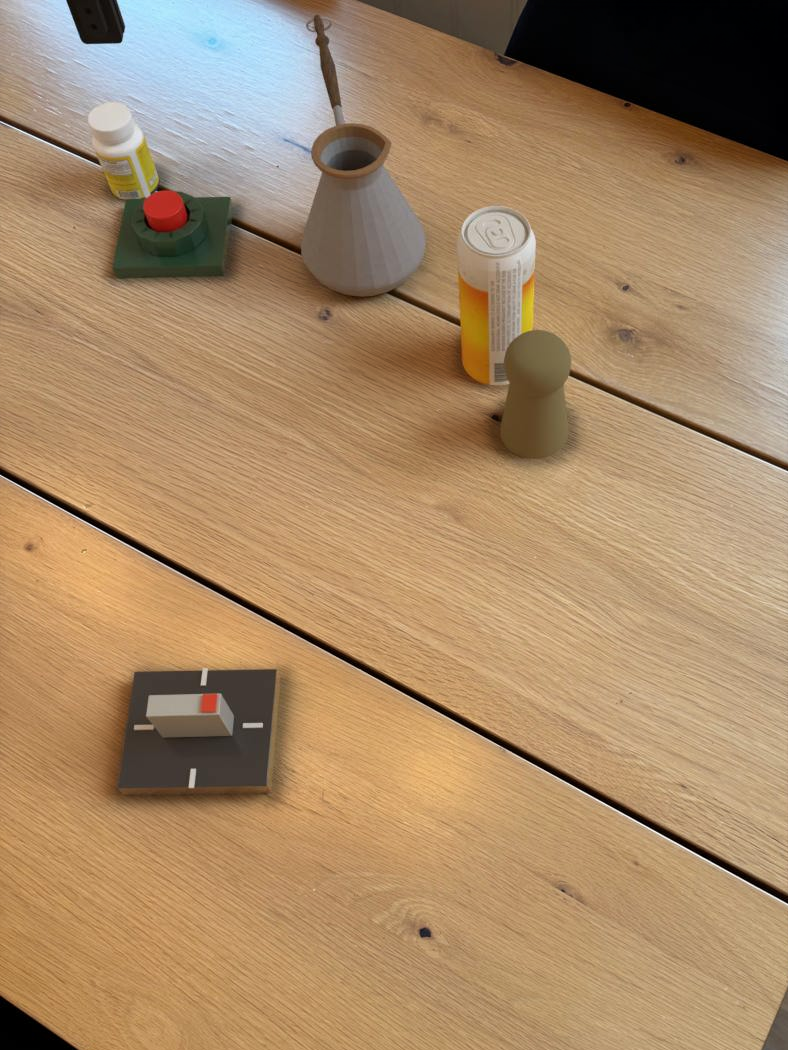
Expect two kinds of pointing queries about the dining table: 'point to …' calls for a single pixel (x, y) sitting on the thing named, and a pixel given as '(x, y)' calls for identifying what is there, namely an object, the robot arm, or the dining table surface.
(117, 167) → the supplement bottle
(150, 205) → the power button
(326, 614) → the dining table surface
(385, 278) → the coffee pot
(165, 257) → the control block
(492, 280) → the beer can
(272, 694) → the rotary switch
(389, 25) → the dining table surface
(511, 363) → the olive pawn
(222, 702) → the hob knob
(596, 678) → the dining table surface
